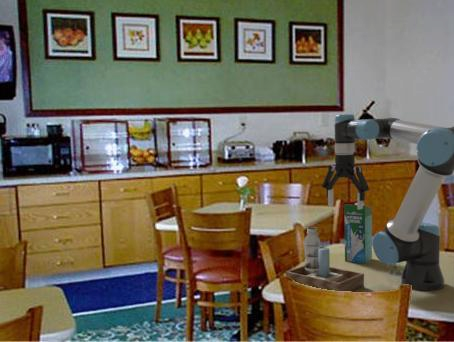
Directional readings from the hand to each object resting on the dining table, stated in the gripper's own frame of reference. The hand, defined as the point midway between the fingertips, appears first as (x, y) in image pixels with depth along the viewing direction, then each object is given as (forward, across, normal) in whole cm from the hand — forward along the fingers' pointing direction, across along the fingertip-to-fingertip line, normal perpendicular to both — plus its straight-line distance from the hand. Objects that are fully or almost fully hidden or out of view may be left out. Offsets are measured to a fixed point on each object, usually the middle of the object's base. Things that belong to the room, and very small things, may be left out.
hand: (345, 207), depth 230 cm
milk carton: (+27, +7, -21) cm, 35 cm away
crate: (+27, -3, +19) cm, 33 cm away
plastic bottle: (+27, +5, +15) cm, 31 cm away
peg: (+26, -3, +19) cm, 32 cm away
